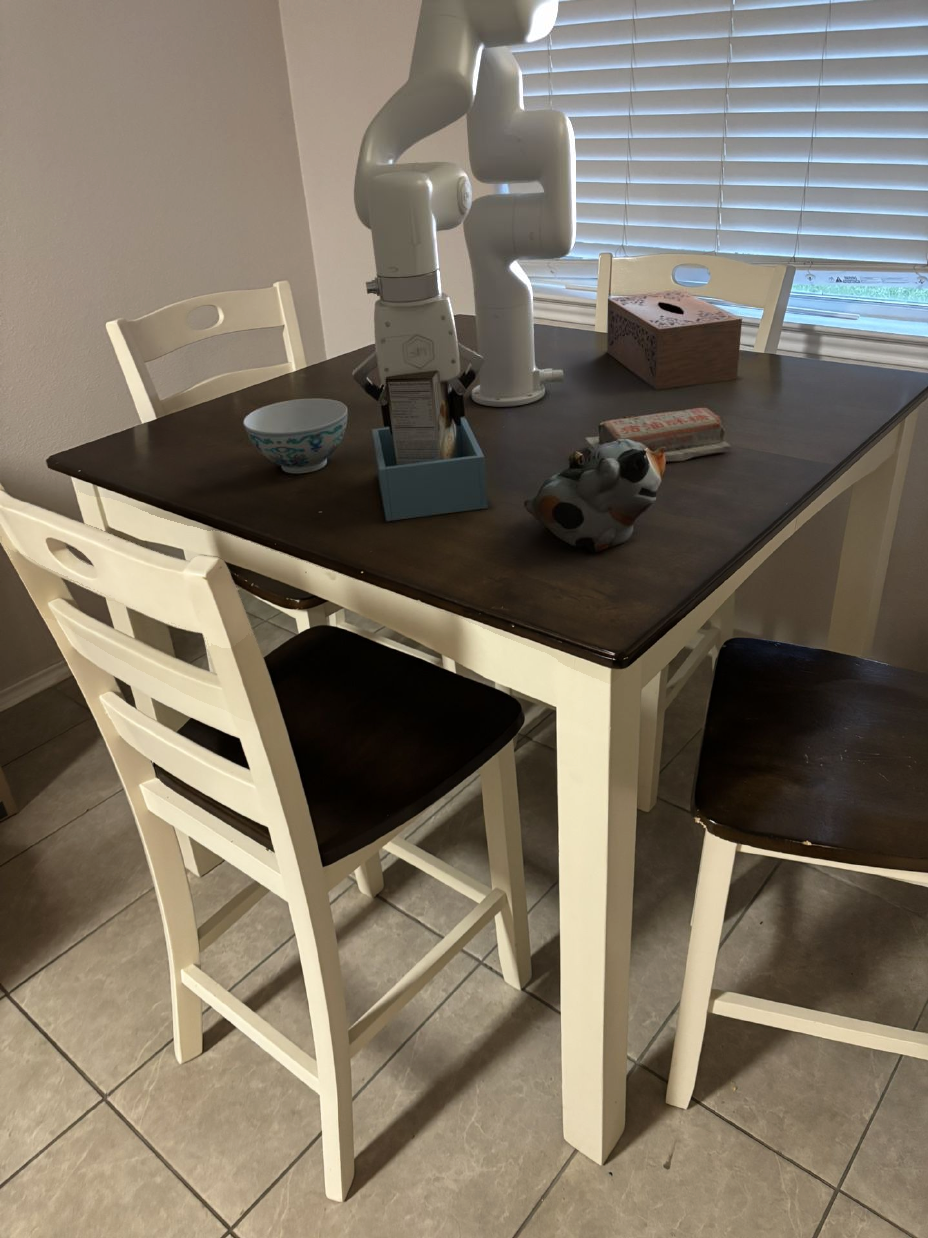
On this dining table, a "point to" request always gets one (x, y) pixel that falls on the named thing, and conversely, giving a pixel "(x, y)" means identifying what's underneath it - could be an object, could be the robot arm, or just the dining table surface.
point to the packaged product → (668, 433)
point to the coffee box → (421, 418)
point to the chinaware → (298, 432)
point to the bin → (431, 479)
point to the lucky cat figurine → (600, 494)
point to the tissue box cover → (673, 338)
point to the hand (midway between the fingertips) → (424, 426)
